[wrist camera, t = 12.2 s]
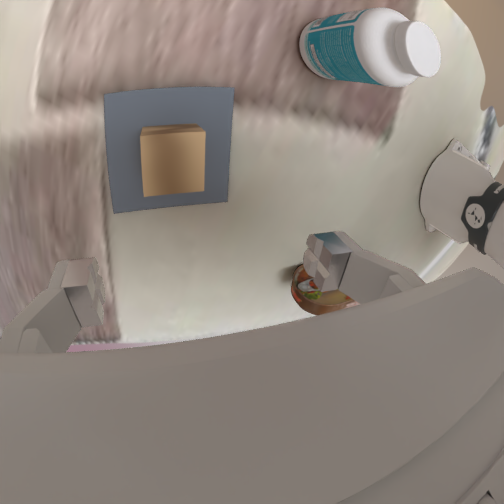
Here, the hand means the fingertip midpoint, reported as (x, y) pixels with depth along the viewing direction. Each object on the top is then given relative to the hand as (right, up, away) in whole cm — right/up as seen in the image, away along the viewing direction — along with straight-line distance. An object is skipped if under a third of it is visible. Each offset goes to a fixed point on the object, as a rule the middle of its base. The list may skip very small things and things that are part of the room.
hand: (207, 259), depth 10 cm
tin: (+13, -2, +32) cm, 34 cm away
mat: (-6, +10, +15) cm, 19 cm away
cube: (-6, +10, +14) cm, 18 cm away
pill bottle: (+10, +22, +13) cm, 28 cm away
